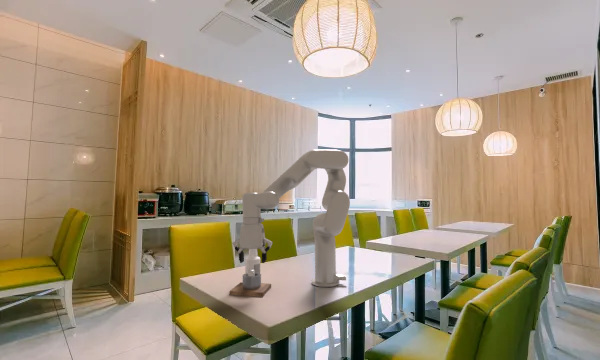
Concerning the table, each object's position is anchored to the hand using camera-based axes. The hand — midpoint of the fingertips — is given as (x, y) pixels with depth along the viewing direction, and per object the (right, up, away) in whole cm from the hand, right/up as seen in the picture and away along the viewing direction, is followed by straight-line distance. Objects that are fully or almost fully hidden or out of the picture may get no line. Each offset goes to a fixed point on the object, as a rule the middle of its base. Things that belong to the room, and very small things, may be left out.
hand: (252, 262), depth 118 cm
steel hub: (0, -10, -1) cm, 10 cm away
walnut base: (-1, -12, -1) cm, 12 cm away
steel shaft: (-1, -10, -1) cm, 10 cm away
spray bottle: (-2, -13, +10) cm, 16 cm away
